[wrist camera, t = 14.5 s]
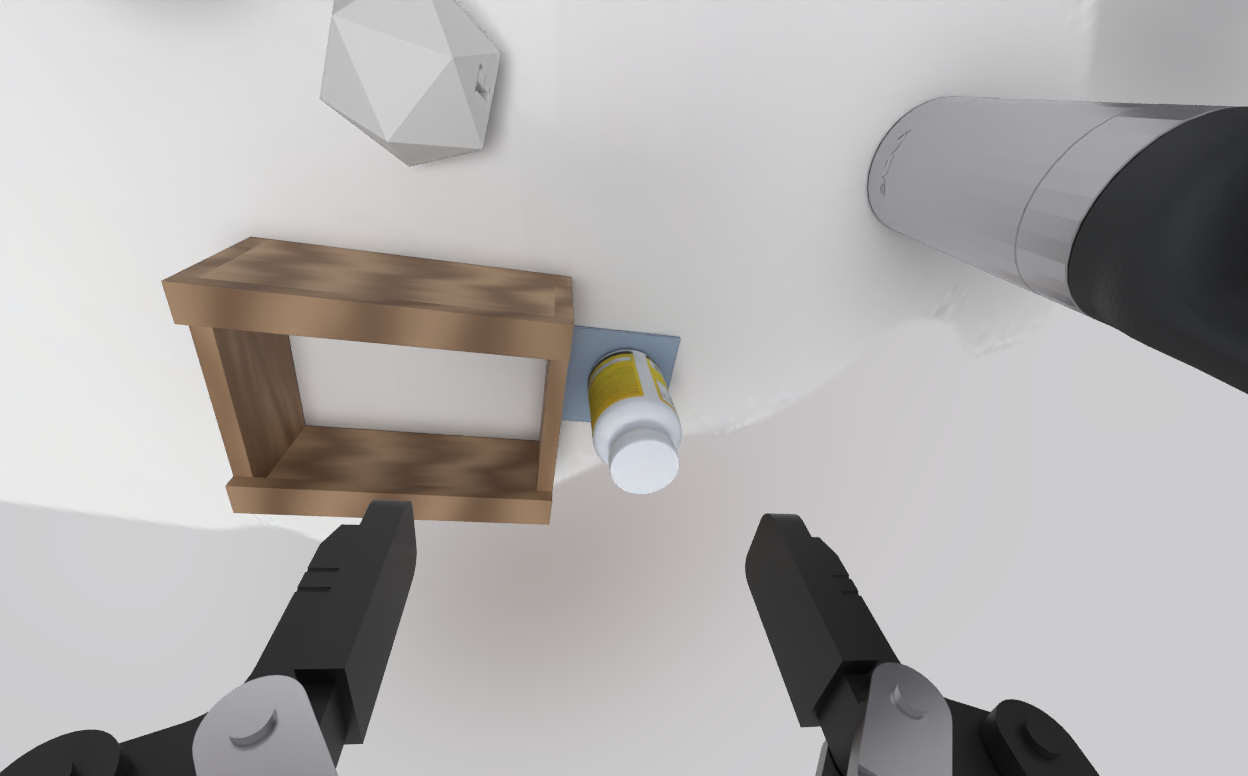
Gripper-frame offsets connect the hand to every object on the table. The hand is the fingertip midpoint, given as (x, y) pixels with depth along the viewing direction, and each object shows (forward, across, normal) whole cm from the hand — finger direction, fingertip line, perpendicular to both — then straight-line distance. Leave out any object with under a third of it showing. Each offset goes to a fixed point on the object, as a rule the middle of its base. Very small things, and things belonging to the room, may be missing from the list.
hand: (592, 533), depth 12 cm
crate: (+29, +11, +12) cm, 33 cm away
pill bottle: (+29, -6, +12) cm, 32 cm away
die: (+29, +10, -8) cm, 32 cm away
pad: (+29, -5, +12) cm, 32 cm away
